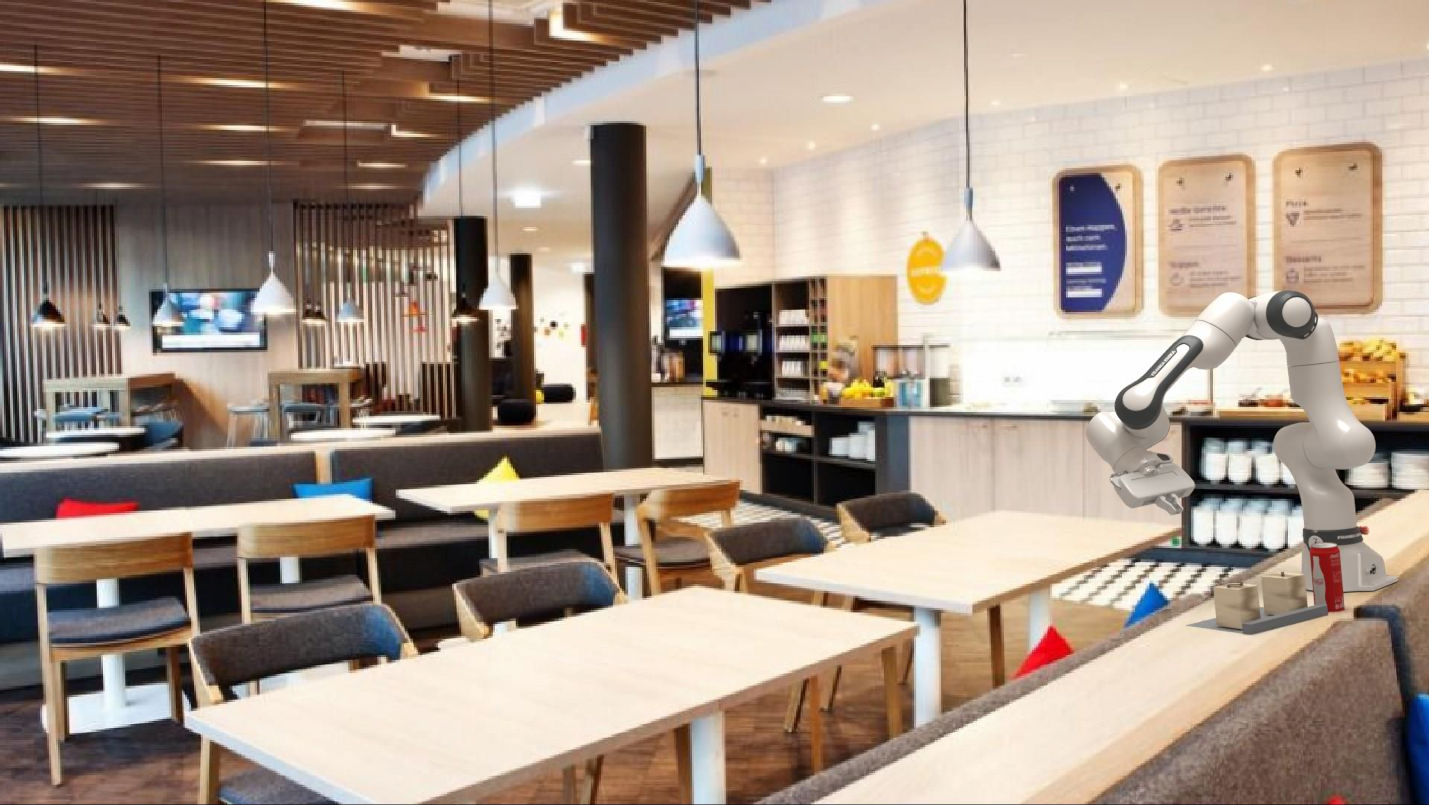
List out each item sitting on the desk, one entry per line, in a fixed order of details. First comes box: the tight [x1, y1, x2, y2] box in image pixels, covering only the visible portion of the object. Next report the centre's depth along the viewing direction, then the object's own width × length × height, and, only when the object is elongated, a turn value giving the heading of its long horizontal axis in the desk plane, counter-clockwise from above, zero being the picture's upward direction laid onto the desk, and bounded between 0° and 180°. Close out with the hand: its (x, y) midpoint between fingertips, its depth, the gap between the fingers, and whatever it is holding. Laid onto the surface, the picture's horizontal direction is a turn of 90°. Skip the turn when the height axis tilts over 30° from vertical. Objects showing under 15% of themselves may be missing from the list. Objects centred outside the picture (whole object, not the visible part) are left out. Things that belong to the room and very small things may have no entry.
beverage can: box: [1310, 542, 1346, 613], centre depth 257 cm, size 6×6×15 cm
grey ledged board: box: [1185, 604, 1329, 636], centre depth 254 cm, size 24×16×3 cm, turn 119°
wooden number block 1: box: [1260, 571, 1309, 615], centre depth 256 cm, size 6×6×8 cm
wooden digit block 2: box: [1213, 581, 1261, 629], centre depth 249 cm, size 6×6×8 cm
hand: (1177, 512), depth 270 cm, fingers closed
